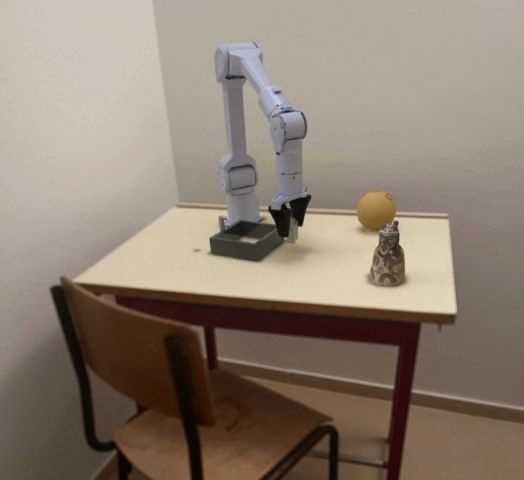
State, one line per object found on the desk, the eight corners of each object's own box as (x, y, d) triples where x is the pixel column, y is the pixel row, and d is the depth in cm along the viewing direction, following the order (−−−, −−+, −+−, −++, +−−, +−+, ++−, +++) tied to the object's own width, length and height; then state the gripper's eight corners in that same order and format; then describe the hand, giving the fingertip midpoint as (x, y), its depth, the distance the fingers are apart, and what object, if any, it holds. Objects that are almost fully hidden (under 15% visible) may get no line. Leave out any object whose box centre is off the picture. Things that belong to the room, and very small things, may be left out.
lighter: (291, 237, 125) (290, 204, 121) (298, 237, 125) (297, 204, 121) (283, 248, 120) (282, 214, 115) (290, 248, 119) (290, 214, 115)
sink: (235, 233, 138) (233, 207, 134) (284, 240, 131) (283, 213, 128) (205, 252, 127) (202, 224, 124) (256, 261, 121) (255, 232, 117)
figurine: (362, 279, 110) (366, 224, 103) (382, 268, 114) (386, 215, 107) (391, 288, 105) (396, 232, 99) (410, 277, 109) (416, 222, 103)
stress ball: (395, 236, 130) (398, 196, 125) (355, 235, 131) (357, 196, 126) (393, 222, 138) (396, 185, 133) (355, 222, 140) (357, 185, 134)
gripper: (291, 181, 107) (292, 244, 114) (319, 165, 117) (319, 223, 124) (261, 178, 110) (264, 240, 117) (291, 163, 120) (292, 220, 127)
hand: (290, 231), depth 121 cm, fingers closed on lighter, 7 cm apart
